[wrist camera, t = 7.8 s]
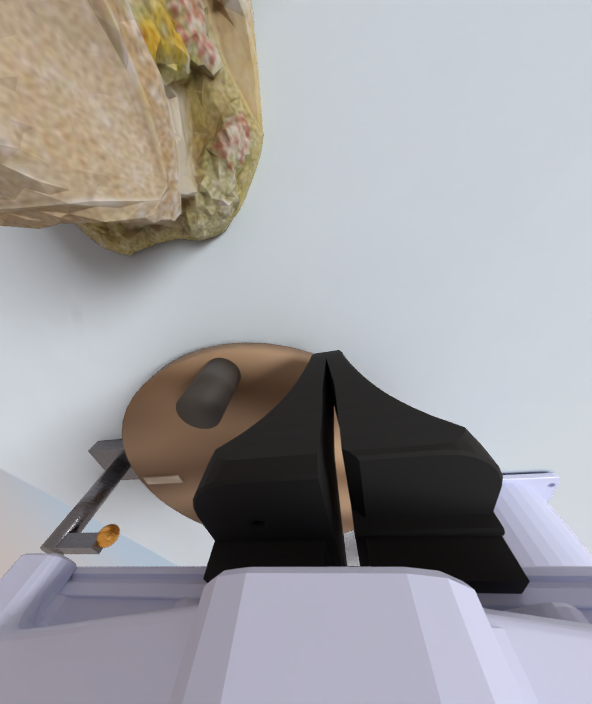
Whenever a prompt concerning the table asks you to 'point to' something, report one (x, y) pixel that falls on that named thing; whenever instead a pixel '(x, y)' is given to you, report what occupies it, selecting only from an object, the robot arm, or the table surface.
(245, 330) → the table surface
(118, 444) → the grey bent lever
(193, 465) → the turntable
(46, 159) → the ceramic model
